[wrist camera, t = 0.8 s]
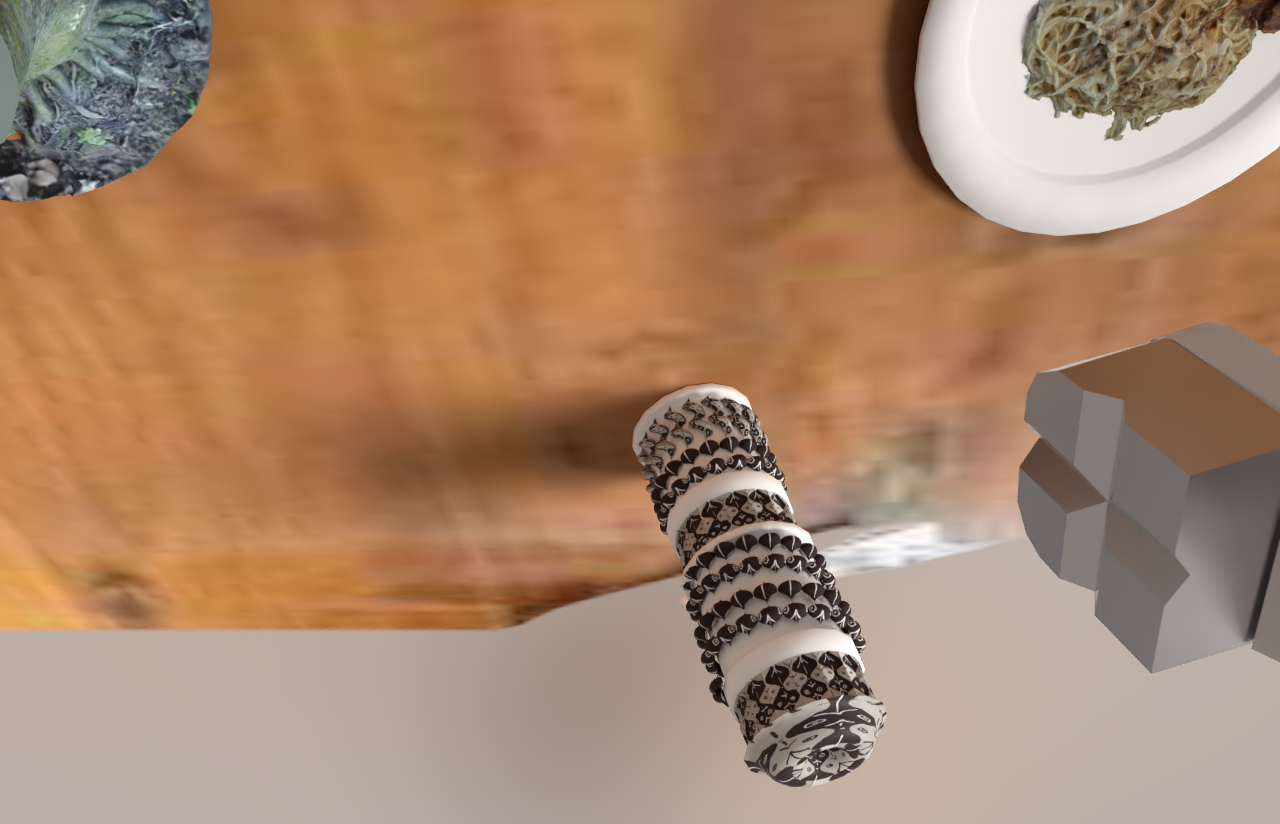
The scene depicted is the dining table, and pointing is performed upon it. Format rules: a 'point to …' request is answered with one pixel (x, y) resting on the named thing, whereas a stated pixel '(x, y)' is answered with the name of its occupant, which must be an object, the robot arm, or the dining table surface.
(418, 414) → the dining table surface
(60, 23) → the tree stump
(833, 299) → the dining table surface
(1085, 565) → the robot arm
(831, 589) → the decorative candle
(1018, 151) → the plated food
